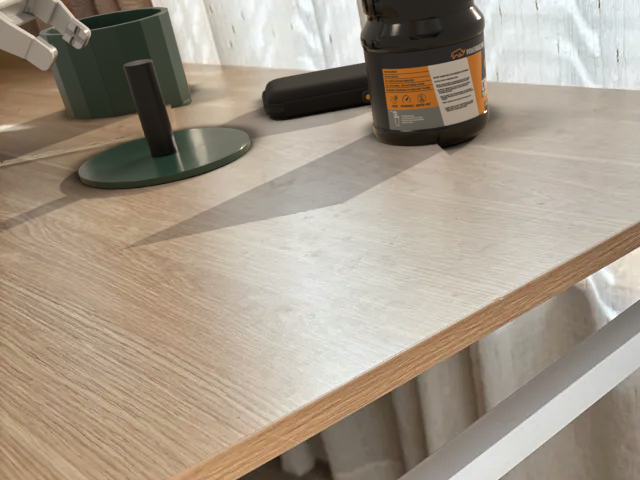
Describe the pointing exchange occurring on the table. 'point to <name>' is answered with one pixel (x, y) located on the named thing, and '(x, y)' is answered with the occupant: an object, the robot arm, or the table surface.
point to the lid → (160, 143)
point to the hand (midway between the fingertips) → (70, 51)
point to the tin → (117, 62)
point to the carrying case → (316, 92)
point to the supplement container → (425, 70)
